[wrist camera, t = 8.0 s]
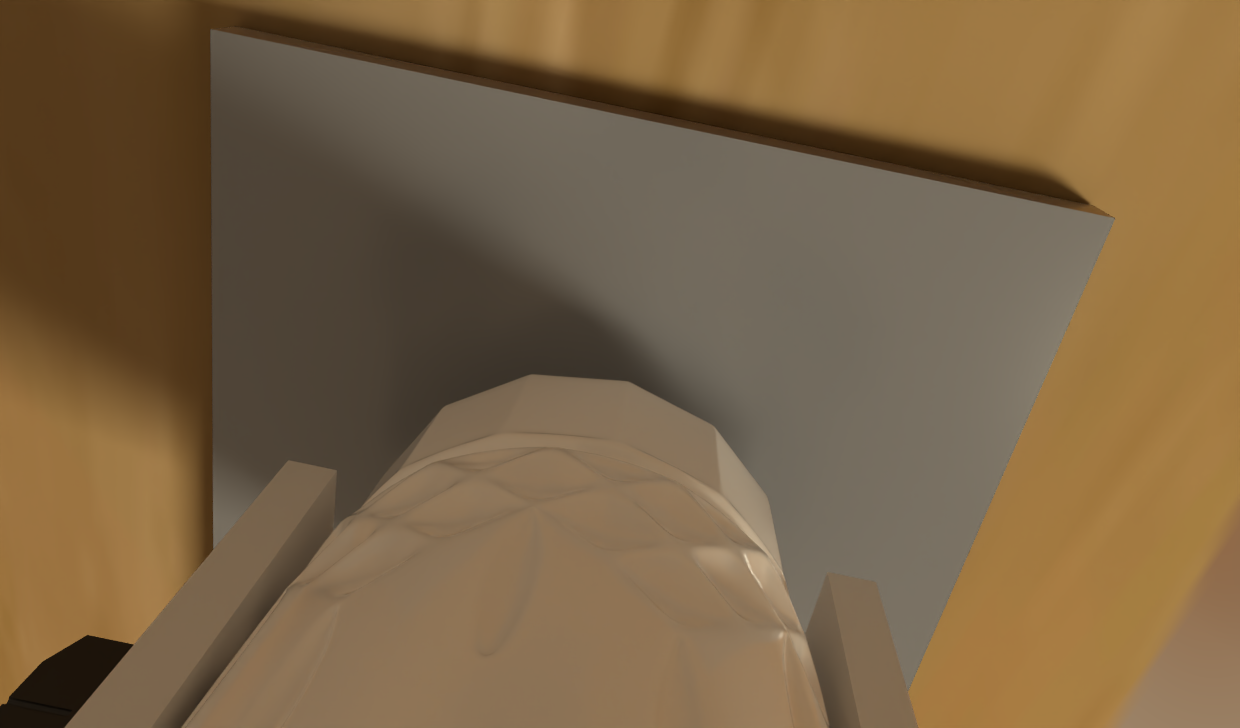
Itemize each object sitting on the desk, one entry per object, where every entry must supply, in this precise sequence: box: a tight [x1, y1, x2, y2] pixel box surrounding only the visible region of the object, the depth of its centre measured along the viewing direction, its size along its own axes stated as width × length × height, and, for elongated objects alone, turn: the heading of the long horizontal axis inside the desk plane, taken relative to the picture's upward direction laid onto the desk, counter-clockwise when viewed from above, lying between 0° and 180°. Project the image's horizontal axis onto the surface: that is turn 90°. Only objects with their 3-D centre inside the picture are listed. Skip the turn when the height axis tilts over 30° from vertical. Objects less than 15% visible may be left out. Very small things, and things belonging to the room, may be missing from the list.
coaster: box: [210, 26, 1115, 691], centre depth 17 cm, size 14×14×1 cm
